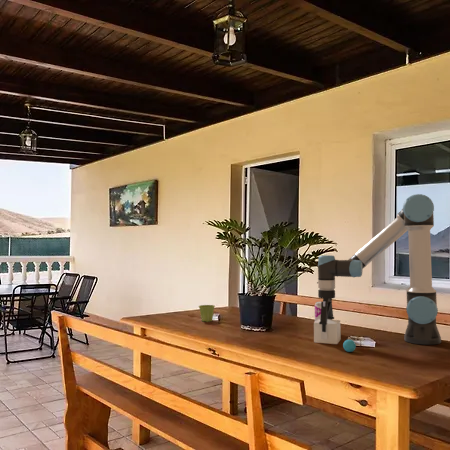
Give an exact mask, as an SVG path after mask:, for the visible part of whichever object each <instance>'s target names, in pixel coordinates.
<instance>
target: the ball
mask: <svg viewBox="0 0 450 450" xmlns="http://www.w3.org/2000/svg"><path fill="white" fill-rule="evenodd" d="M356 346H357V345H356V342H355V341H354V340H353V339H346V340H344V342H343V344H342V347H343V350H344V351H346V352H347V353H353V352H354V351H355V350H356V348H357V347H356Z"/></svg>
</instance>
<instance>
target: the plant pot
mask: <svg viewBox="0 0 450 450" xmlns="http://www.w3.org/2000/svg"><path fill="white" fill-rule="evenodd" d="M215 307H216V306H215V305H214V304H201V305H198V308H199V311H200V317H201V319H200V320H201V322H206V323H208V322H209V323H210V322H213V317H214V310H215Z"/></svg>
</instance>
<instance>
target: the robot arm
mask: <svg viewBox="0 0 450 450" xmlns="http://www.w3.org/2000/svg"><path fill="white" fill-rule="evenodd" d="M434 211H435V205H434V202H433V200H432V199H431V198H430V197H429V196H427V195H425V194H420V193H417V194H413V195H410V196H409V197H407V198H406V199H405V201H404V203H403V205H402V209H401V210H400V211H399V212H398V213H397V214H396V218H394V219H393V220H392V221H391V222H389V224H388V225H386V226H385V227H384V228H383V229H382V230H381V231H379V232H378V233H377V234H376V235H375V236H374V237H373V238H371V239H370V240H369V241H368V242H367V243H365V245H363V247H361V248H360V249H359V250H358V251H357V252H356V253H354V255H352V256H351V257H350V258H348V259H336V257H335V255H327V254H325V255H319V256H318V260H317V261H318V263H317V277H318V278H317V282H316V284H318V288H317V289H318V292H317V293H318V295H317V296H318V298H319V299H322V301H320V302H321V318H320V322H319V324H321V339H328V324H327V320H335V316H334V311H333V299H335V298H336V291H335V289H336V277H337V278H338V277H341V278H342V277H343V278H344V277H345V278H361V277H362V276H363V269H364V268H365V267H367V265H369V264H370V263H371V262H373V260H375V259H376V258H377V257H378V256H379V255H381V254H382V253H383V252H384V251H386V249H389V247H390V246H392V245H393V244H394V243H395V242H396V241H398V239H400V238H401V237H402V236H403V235H404V234H405V233H407V232H408V234H407V235H408V257H409V258H408V259H409V261H408V262H409V264H408V265H409V266H408V267H409V287H408V288H407V289H406V306H405V307H406V309H405V310H406V313H407V326H406V329H405V332H404V337H403V338H404V341H405V342H407V343H410V344H416V345H422V346H423V345H425V346H427V345H428V346H429V345H431V346H433V345H439V344H441V343H442V336H441V334H440V332H439V329H438V326H437V316H438V312H439V310H438V306H437V290H436V289H434V286H433V277H432V275H433V274H432V252H431V251H432V248H431V229H433V227H434V225H435V222H434V221H435V220H434V216H435V215H434Z"/></svg>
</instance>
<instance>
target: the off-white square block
mask: <svg viewBox="0 0 450 450" xmlns="http://www.w3.org/2000/svg"><path fill="white" fill-rule="evenodd" d="M319 322H320V319H318V320H316V321H315V320H314V322H313V342H314V343H315V344H316V343H319V344H331V345H338V344H339V342H340V341H341V340H342V339H341V336H342V335H341V320H339V319H333V320H327V324H328V339H321V324H319Z"/></svg>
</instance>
